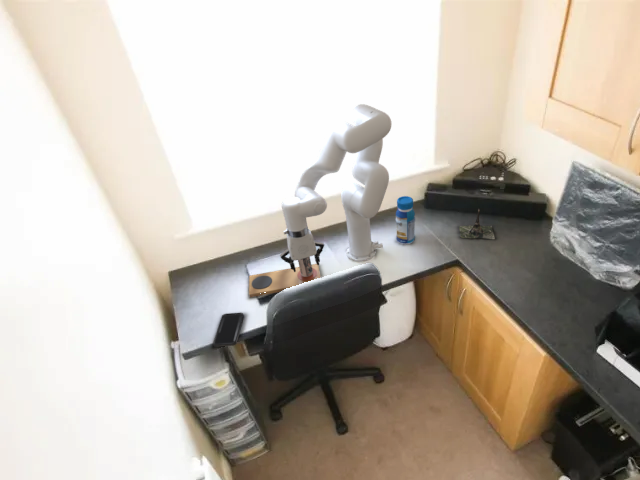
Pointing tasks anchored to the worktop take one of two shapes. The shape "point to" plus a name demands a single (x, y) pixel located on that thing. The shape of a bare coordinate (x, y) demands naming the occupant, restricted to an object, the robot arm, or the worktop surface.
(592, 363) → the worktop surface
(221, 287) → the worktop surface
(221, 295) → the worktop surface
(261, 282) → the board
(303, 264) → the beer can
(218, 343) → the phone
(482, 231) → the eiffel tower figurine
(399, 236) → the beverage bottle
